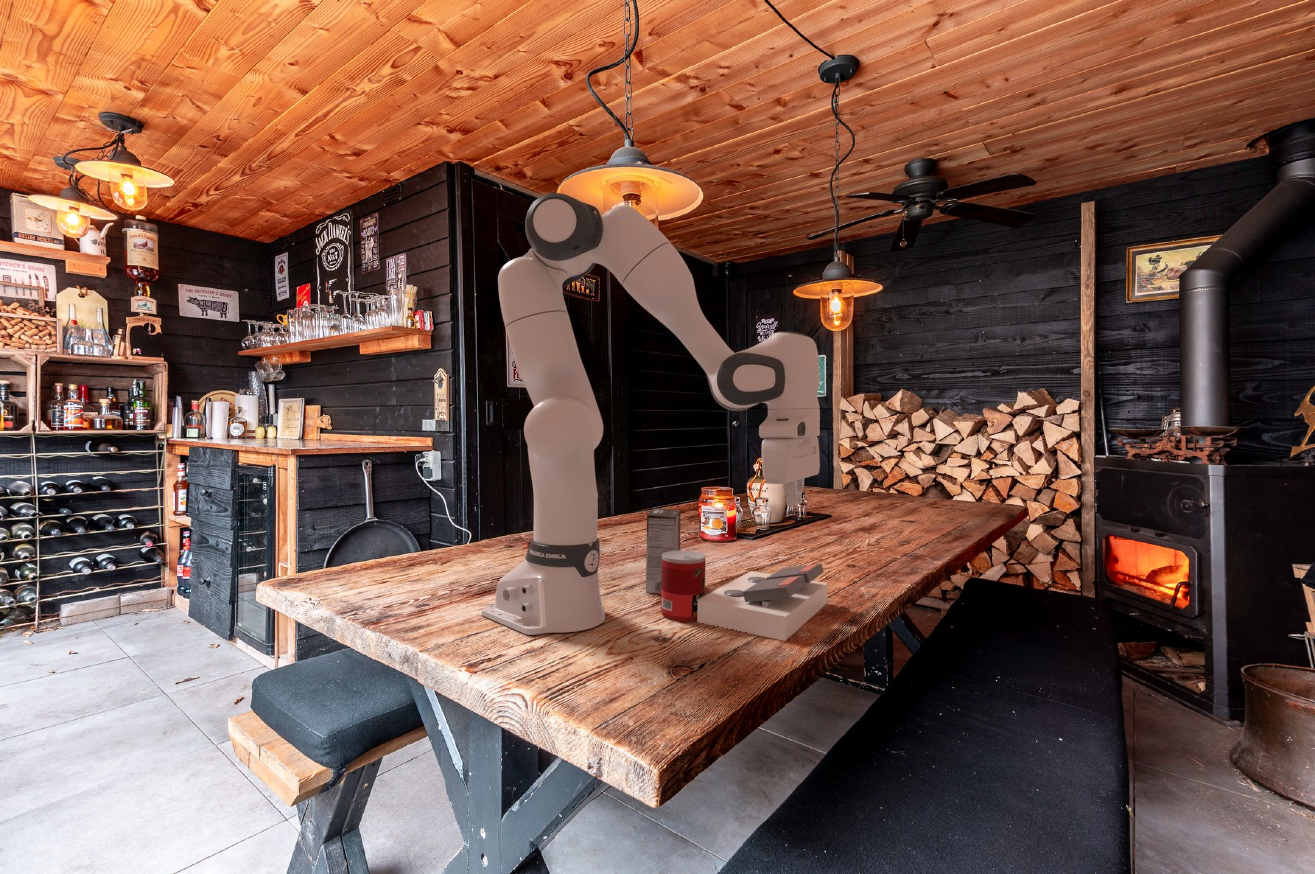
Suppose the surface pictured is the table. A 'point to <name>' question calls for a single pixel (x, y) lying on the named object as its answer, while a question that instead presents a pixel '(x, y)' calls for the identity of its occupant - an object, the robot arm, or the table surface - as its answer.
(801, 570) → the rocker far
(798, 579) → the rocker near
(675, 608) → the canned food
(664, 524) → the coffee box
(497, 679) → the table surface
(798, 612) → the beige flat block
